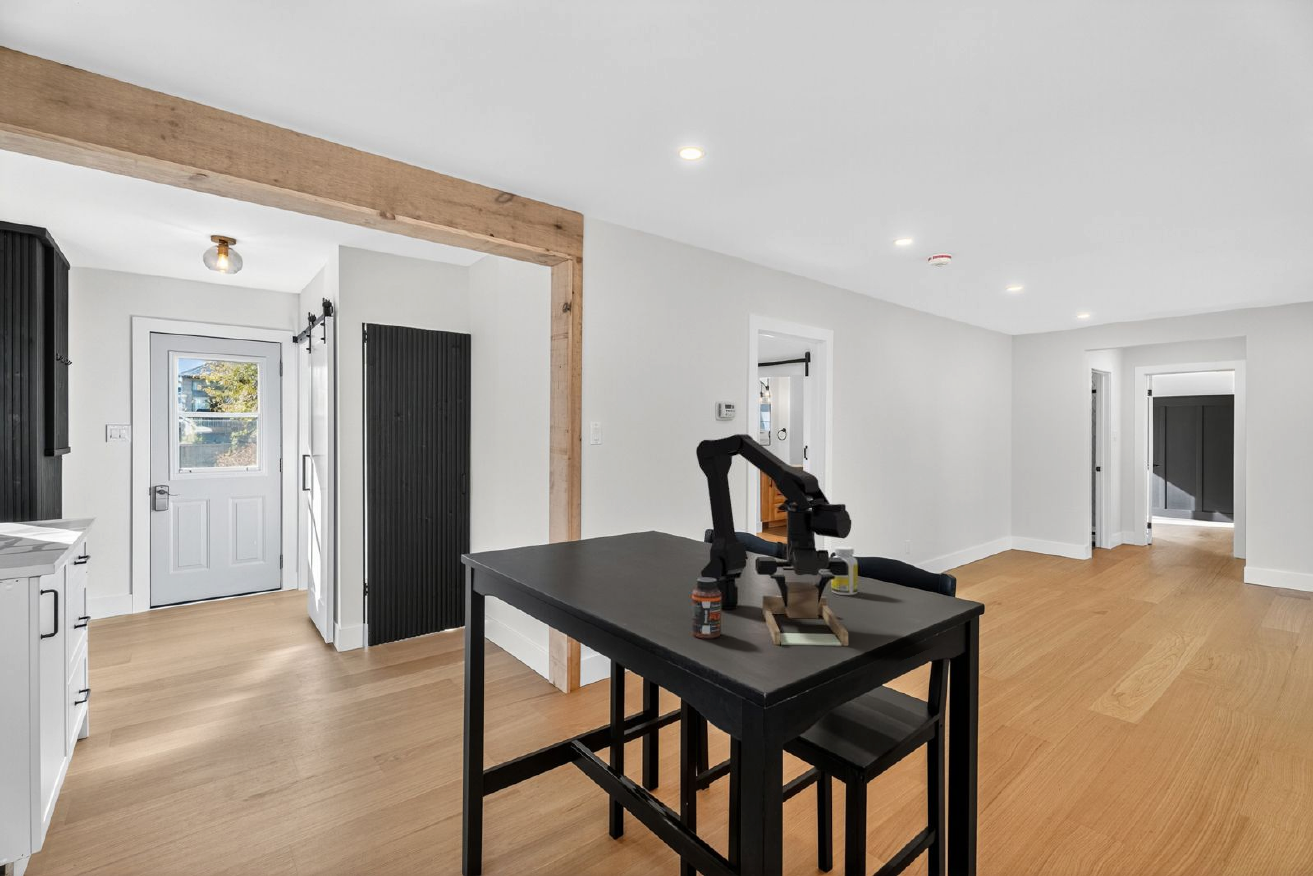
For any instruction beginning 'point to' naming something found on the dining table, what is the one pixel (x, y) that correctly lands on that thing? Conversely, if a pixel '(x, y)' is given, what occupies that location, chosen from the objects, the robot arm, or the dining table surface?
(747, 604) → the dining table surface
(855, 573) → the pill bottle
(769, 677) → the dining table surface
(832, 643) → the front pad
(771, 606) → the bay
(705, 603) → the supplement bottle
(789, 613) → the crate
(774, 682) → the dining table surface
